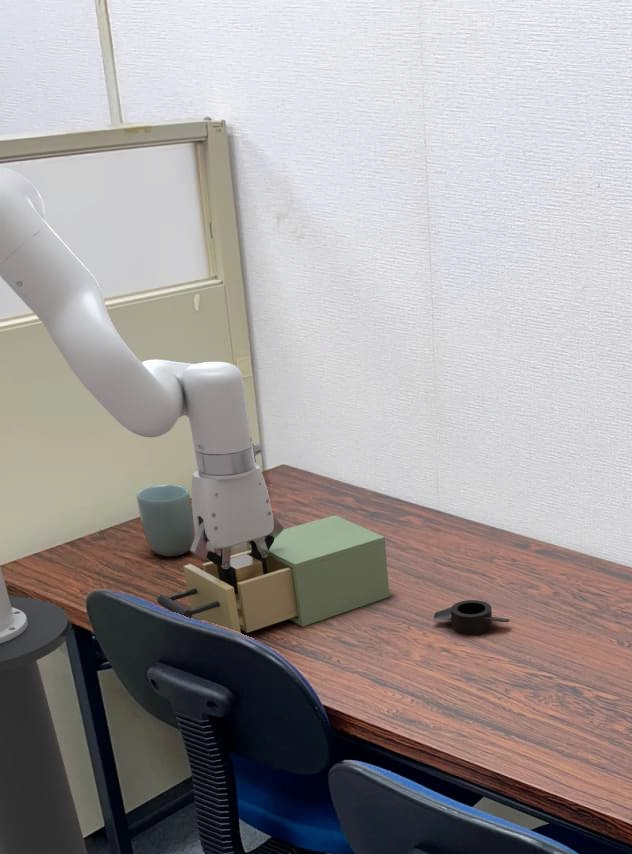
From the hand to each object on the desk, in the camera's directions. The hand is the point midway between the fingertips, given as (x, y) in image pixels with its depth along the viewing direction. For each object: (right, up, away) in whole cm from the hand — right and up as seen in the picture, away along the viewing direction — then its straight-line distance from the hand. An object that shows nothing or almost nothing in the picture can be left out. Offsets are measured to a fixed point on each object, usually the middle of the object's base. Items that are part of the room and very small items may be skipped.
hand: (245, 585), depth 169 cm
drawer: (-1, -5, +2) cm, 5 cm away
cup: (-19, +9, +25) cm, 33 cm away
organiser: (+9, 0, +11) cm, 14 cm away
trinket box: (-8, +8, +23) cm, 26 cm away
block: (0, 0, 0) cm, 0 cm away
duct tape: (+32, -6, +4) cm, 33 cm away
